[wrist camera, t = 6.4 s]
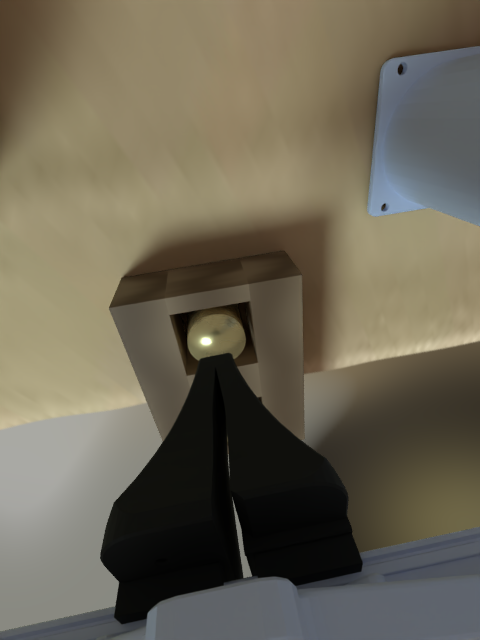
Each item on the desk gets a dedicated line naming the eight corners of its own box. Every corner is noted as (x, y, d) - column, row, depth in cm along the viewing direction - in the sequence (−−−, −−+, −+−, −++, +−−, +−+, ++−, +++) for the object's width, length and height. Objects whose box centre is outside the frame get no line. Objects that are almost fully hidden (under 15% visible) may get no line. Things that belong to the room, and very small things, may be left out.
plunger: (234, 284, 22) (242, 312, 19) (240, 327, 24) (248, 359, 21) (182, 293, 22) (181, 323, 19) (193, 335, 24) (194, 369, 21)
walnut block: (284, 250, 21) (301, 275, 18) (291, 403, 30) (304, 439, 26) (121, 277, 21) (108, 308, 18) (174, 425, 29) (172, 465, 26)
